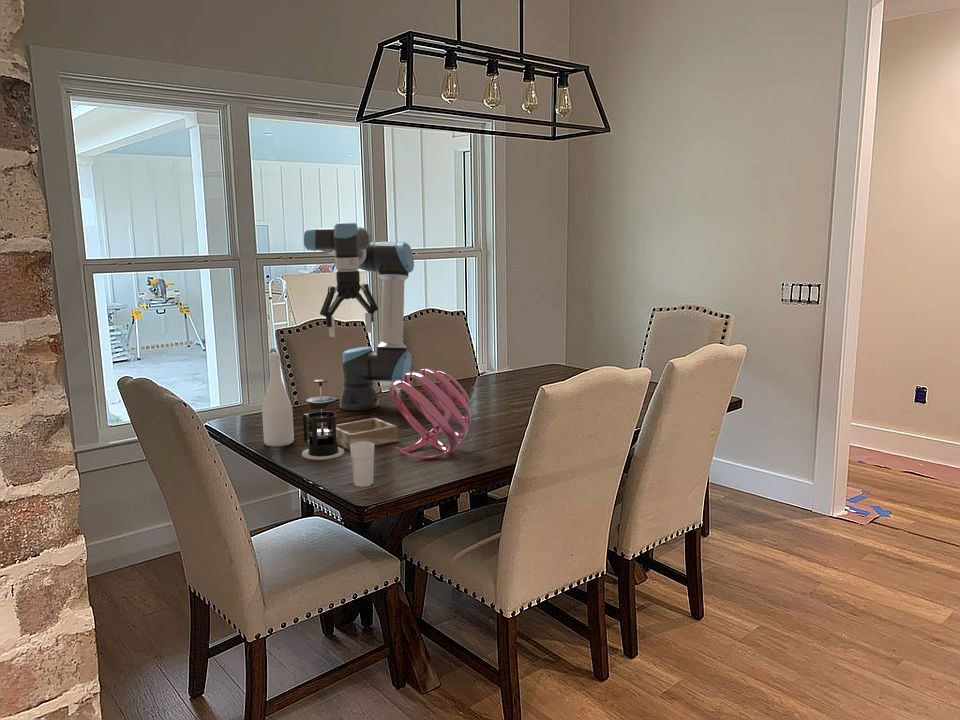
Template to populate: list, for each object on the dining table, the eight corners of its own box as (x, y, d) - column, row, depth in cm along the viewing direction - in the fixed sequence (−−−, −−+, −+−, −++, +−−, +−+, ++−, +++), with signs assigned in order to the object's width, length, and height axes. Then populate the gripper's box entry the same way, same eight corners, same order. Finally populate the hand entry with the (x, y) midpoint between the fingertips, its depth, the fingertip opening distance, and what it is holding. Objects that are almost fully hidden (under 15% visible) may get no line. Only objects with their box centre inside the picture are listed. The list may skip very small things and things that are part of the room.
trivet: (295, 452, 239) (294, 450, 239) (332, 445, 247) (332, 443, 247) (313, 462, 229) (313, 460, 229) (351, 454, 237) (351, 452, 237)
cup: (362, 489, 205) (360, 449, 203) (346, 484, 209) (344, 445, 208) (380, 483, 210) (379, 444, 208) (365, 478, 214) (363, 440, 212)
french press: (346, 449, 240) (343, 378, 236) (330, 458, 231) (327, 383, 227) (314, 446, 244) (311, 375, 240) (297, 454, 235) (293, 381, 231)
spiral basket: (375, 407, 215) (444, 346, 224) (352, 410, 240) (414, 355, 250) (437, 480, 220) (501, 418, 229) (408, 475, 245) (467, 419, 255)
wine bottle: (269, 439, 255) (264, 350, 250) (297, 439, 254) (292, 350, 249) (260, 447, 245) (254, 355, 240) (289, 447, 245) (284, 355, 240)
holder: (329, 440, 252) (329, 426, 252) (375, 431, 263) (375, 417, 262) (350, 450, 241) (349, 435, 240) (397, 440, 252) (397, 426, 251)
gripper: (317, 273, 239) (321, 340, 243) (386, 268, 253) (389, 331, 258) (307, 272, 245) (311, 337, 249) (375, 267, 259) (377, 329, 264)
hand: (350, 334), depth 253 cm, fingers open, 13 cm apart
